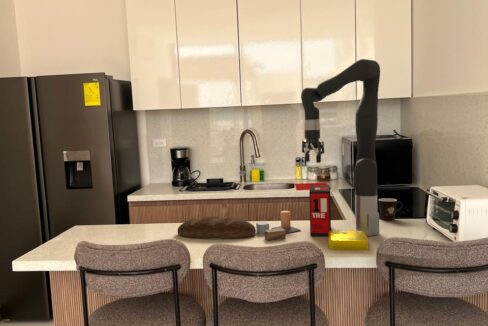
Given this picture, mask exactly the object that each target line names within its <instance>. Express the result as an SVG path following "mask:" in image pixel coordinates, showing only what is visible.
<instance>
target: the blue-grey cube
mask: <svg viewBox="0 0 488 326" xmlns="http://www.w3.org/2000/svg"><path fill="white" fill-rule="evenodd" d="M255 224H256V227H255V229H256V233H257V234H259V235H265V230H270V223H269V222H266V221H261V222H259V221H258V222H256V223H255Z"/></svg>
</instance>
